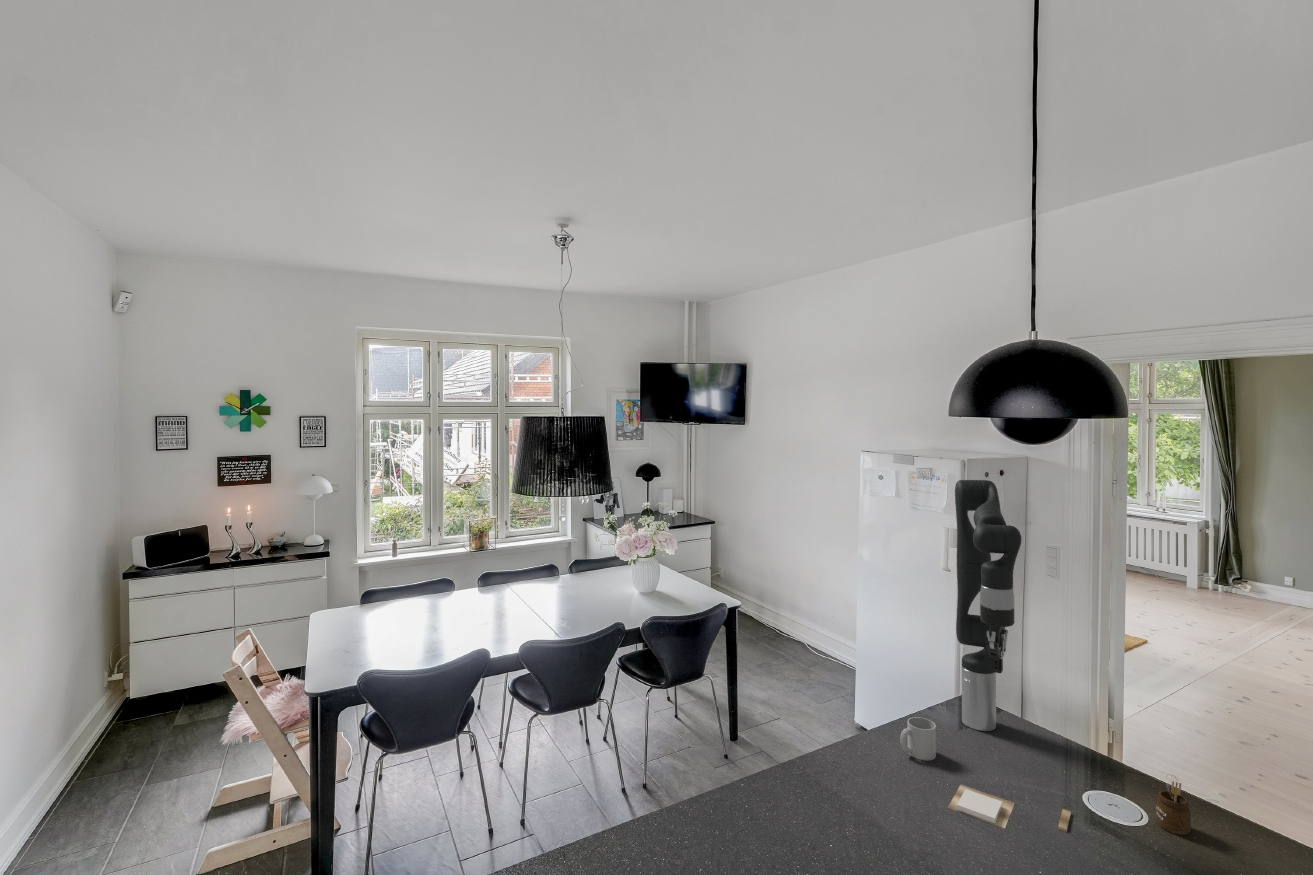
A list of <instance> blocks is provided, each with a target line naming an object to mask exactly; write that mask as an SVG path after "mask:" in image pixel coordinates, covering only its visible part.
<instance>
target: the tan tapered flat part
mask: <svg viewBox="0 0 1313 875" xmlns="http://www.w3.org/2000/svg"><path fill="white" fill-rule="evenodd" d="M1071 815H1072V811H1071V810H1068V809H1065V808H1062V810H1061V813H1060V818H1059V822H1058V826H1057V829H1058V830H1060V831H1063V832H1066V833H1067V832H1068V829H1069V824H1070V819H1071Z"/></svg>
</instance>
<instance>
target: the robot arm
mask: <svg viewBox="0 0 1313 875" xmlns="http://www.w3.org/2000/svg"><path fill="white" fill-rule="evenodd" d="M998 492H999V491H998V488H997V486H996V484H995V483H994V482H993V481H992V480H988V479H959V480H957V482H955V488H954V500H955V501H954V503H955V516H956V534H957V535H956V580H957V582H956V583H957V602H956V621H955V622H956V623H955V624H956V625H955V626H956V627H955V631H956V632H955V634H956V638H957V639H956V640H957V641H958V643H959V644H960V645H965V646H971V647H978V648H983V649H981V650H978V651H975V652H970V653H966V654H964V655H962V658H961V722H962V723H963V724H964V725H965V726H966V727H968V728H970V729H973V730H976V731H982V732H991V731H995V730H996V729H997V674H1002V672H1003V670H1004V657H1005V653H1006V651H1007V649H1006V648H1007V642H1008V640H1007V639H1008V634H1009V630H1008V629H1007V628H1008V627H1012V626H1014V625H1015V594H1014V571H1015V570H1014V568H1015V564H1016V561H1017V557H1018V554H1019V551H1020V549H1021V546H1022V540H1023V539H1022V535H1021V533H1020V530H1019V529H1018V528H1017V527H1016V526H1014V525H1007V522H1006V521H1005V518H1004V516H1003V514H1002V512H1001V503H1000V497H999V493H998ZM968 512H974V513H973V522H974V526H975V528H974V526H973V524H972V522H971V521H970V518H969V514H968ZM991 554H1002V556H1001V557H1000V558H998V559H995V560H992V555H991ZM978 594H979V597H980V598H979V605H980V606H979V615H978V614H970V613H969V610H970V607H971V605H972V604H973V602H974V600H975V598H977V596H978Z"/></svg>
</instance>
